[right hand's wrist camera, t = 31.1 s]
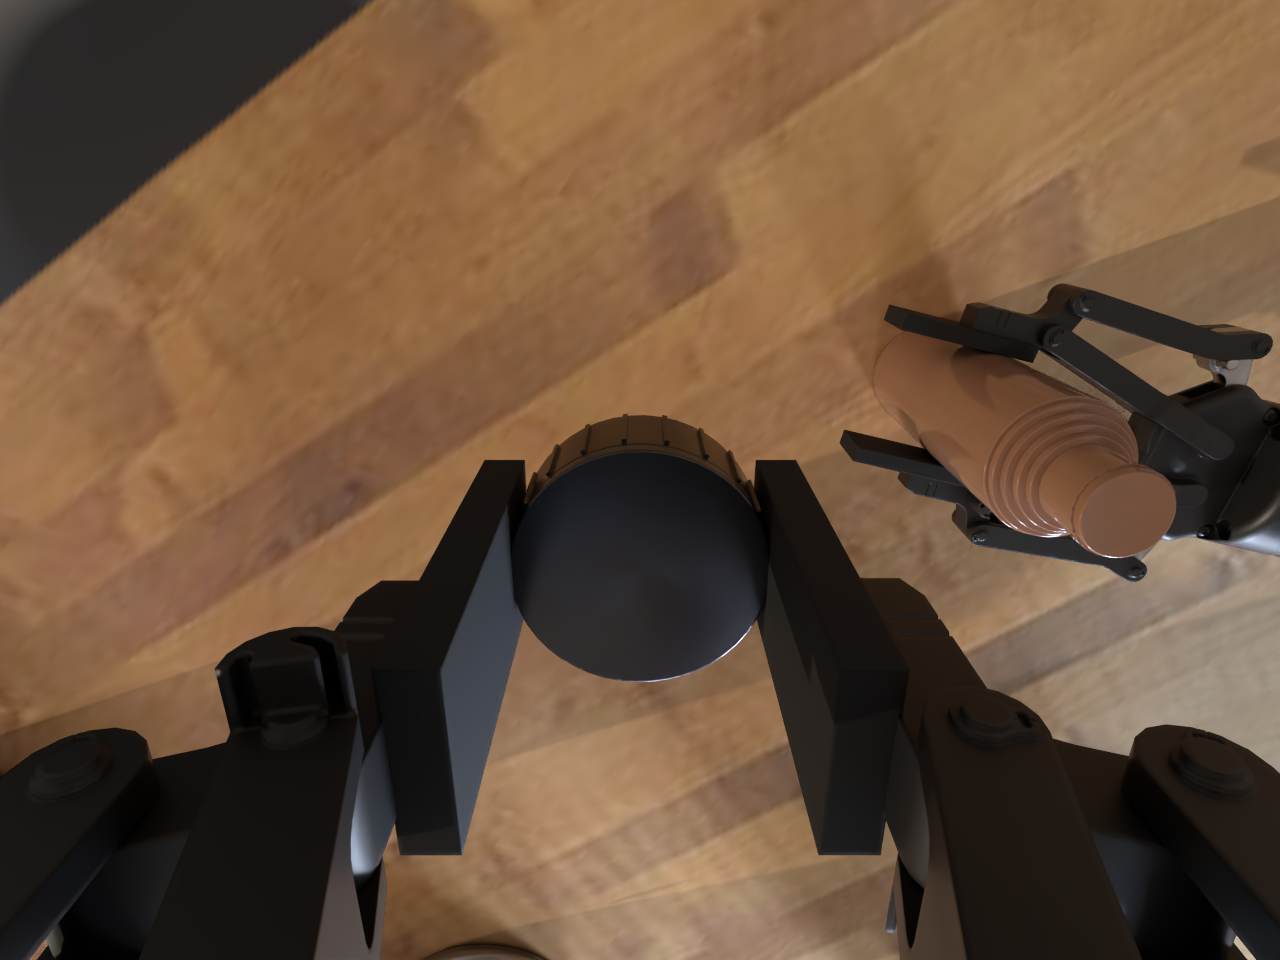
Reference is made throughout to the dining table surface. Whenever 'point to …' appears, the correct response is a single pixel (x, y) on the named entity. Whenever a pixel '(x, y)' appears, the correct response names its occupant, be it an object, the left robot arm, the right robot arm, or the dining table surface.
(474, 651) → the right robot arm
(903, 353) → the bottle
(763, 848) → the dining table surface
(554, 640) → the cap
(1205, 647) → the dining table surface
